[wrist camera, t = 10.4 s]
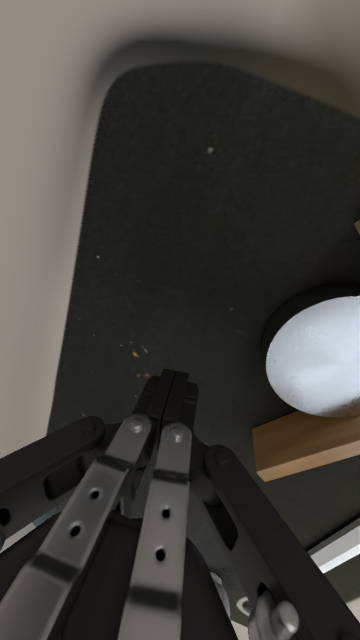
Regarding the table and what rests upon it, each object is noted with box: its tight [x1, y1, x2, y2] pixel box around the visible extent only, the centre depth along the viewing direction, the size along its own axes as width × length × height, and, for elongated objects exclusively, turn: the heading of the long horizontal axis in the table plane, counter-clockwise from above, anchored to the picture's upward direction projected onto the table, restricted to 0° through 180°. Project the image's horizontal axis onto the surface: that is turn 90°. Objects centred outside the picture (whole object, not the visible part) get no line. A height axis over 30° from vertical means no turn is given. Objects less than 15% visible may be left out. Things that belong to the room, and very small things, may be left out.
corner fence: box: [252, 220, 360, 482], centre depth 20 cm, size 15×18×5 cm
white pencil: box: [307, 518, 360, 573], centre depth 31 cm, size 3×2×16 cm
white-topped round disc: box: [261, 284, 360, 418], centre depth 20 cm, size 11×11×3 cm
